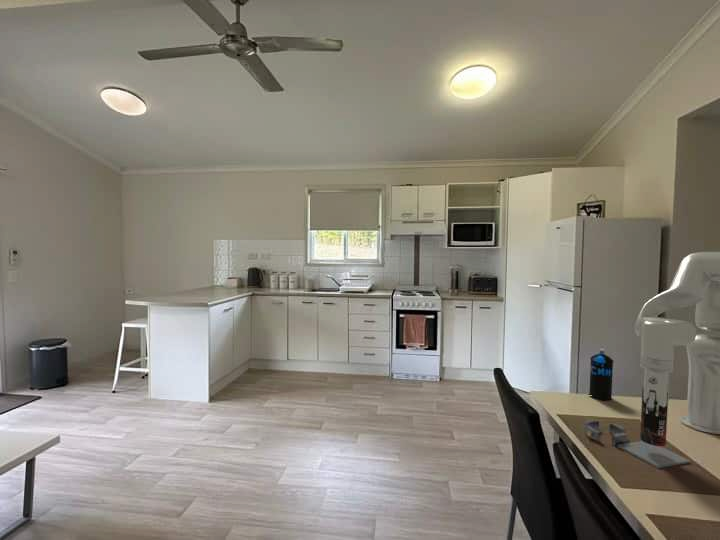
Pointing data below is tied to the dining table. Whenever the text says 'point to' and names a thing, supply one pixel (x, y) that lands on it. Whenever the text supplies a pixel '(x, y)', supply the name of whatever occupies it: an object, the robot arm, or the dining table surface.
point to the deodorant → (654, 435)
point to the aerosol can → (601, 376)
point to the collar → (616, 431)
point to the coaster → (653, 454)
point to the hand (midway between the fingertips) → (653, 424)
